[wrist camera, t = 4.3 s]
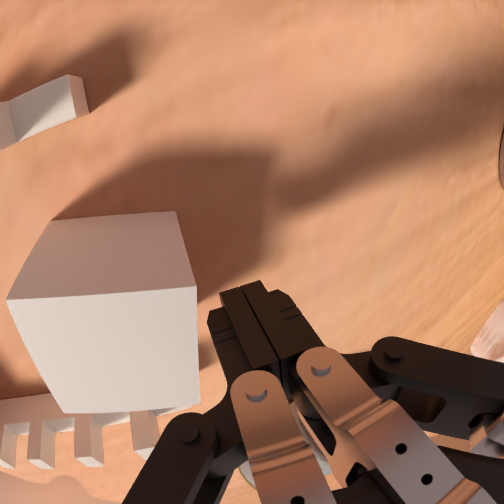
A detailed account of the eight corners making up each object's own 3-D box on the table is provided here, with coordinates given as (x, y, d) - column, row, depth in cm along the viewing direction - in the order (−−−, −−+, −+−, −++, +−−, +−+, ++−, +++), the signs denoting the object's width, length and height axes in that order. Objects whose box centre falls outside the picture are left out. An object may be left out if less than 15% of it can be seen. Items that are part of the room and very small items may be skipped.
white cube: (50, 219, 12) (4, 299, 7) (175, 209, 13) (197, 285, 8) (75, 322, 14) (63, 414, 9) (179, 314, 16) (201, 404, 11)
